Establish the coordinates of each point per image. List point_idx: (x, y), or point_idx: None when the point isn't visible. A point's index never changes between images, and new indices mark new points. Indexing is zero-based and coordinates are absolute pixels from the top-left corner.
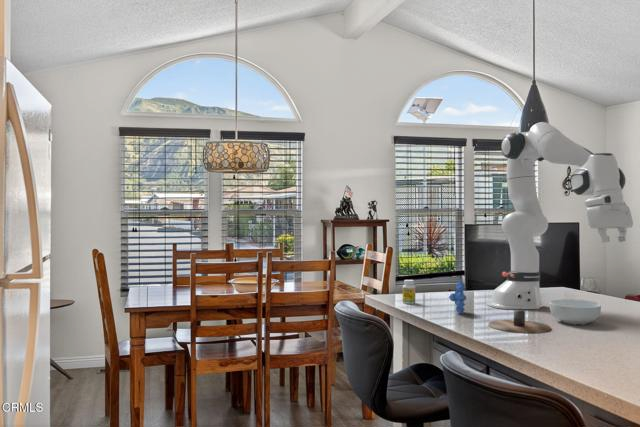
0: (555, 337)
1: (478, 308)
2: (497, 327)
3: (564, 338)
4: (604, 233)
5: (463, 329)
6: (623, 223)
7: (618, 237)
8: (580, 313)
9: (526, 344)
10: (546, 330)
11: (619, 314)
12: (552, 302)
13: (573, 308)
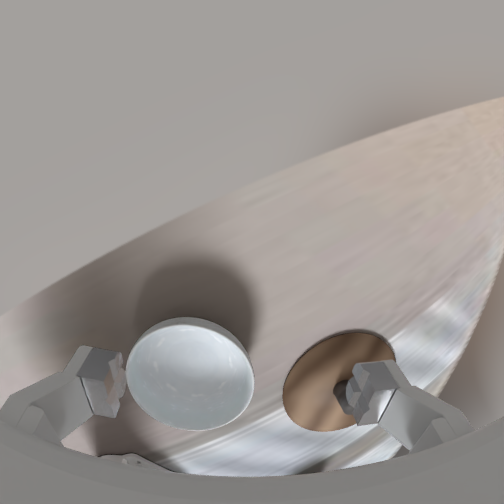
0: (384, 291)
1: None
2: None
3: (380, 276)
4: (437, 405)
5: None
6: (44, 482)
7: (116, 408)
8: (236, 339)
9: (456, 284)
10: (350, 334)
11: (28, 333)
12: (205, 425)
13: (248, 357)
